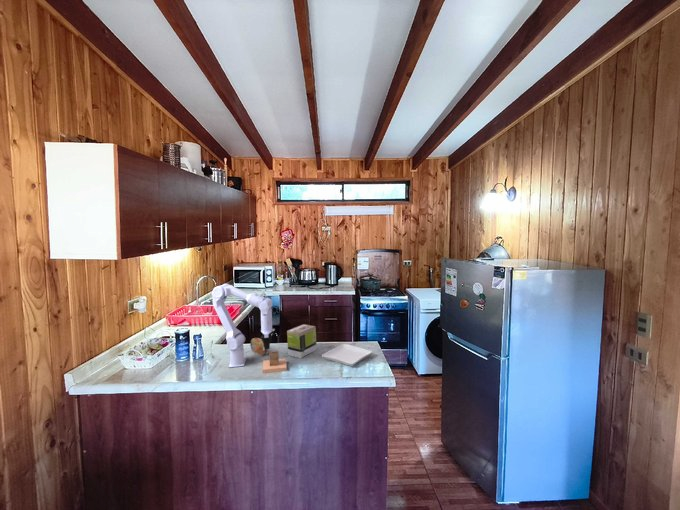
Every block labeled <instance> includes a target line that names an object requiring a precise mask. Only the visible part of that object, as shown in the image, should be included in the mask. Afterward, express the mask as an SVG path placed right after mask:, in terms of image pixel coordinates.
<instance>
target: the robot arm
mask: <svg viewBox="0 0 680 510" xmlns="http://www.w3.org/2000/svg"><path fill="white" fill-rule="evenodd" d="M211 296H212V305H213V308H214V310H215V312H216V314H217V316H218V318H219V321H220V322H221V325H222V327H223V328H224V331H225V334H226V337H225V340H226V347H227V348H228V349H229V364H228V368H235V367H238V368H239V367H244V366H245V363H246V360H247V359H246V358H245V356H244V355H245V353H244V352H245V351H244V343H245V342H246V337H245V335H244V334H243V333H242V332H241V330H239V329H238V328H237V326H236V325H235V322H234V320H233V319H232V317H231V314H230V312H229V310H228V308H227V306H226V303H225V302H226V299H227V297H231V296H234V297H237V298H240V299H242V300H245V301H246V303H247V304H249V305H250V306H251V305H252V306H253V307H256V308H259V310H260V327H261V328H260V332H261V333H262V335H261V336H260V339H262V341H263V343H264V348H265V350H266V349H268V350H269V349H270V347H271V341H272V338H273V335H272V334H273V332H274V331H275V330H276V329H275V328H273V313H272V312H273V310H272V309H273V308H272V307H273V306H274V302H273V300H272V299H271V298H269V297H266V298H265V296H260V295H258V293H256V292H254V293H253V292H252V293H247V292H246V291H244V290H241V289H239V288H237V287H235V286H233V285H232V284H228V283H223V284H222V285H221V284H220V285H218V286H215V287H214V288H213V289H212V292H211Z"/></svg>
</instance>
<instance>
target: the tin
mask: <svg viewBox="0 0 680 510" xmlns="http://www.w3.org/2000/svg"><path fill="white" fill-rule="evenodd" d="M249 345H250V348H251V351H252V352H253V353H255V354H257V355H260V356H263V355H266V354H267V353H268V351H269V349H266V350H265V348H264V343H263V341H262V339H261V338H260V337H254V338H253V337H252V338H251V340H250V344H249Z"/></svg>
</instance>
